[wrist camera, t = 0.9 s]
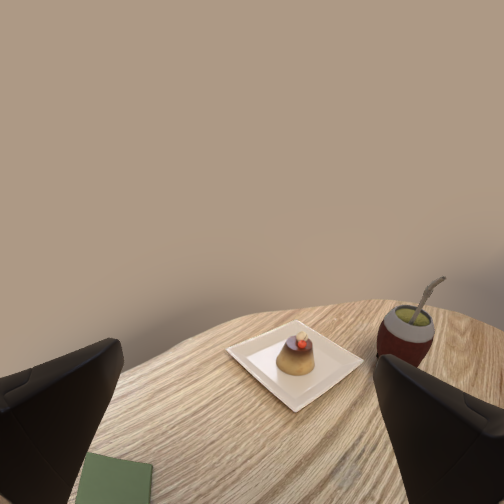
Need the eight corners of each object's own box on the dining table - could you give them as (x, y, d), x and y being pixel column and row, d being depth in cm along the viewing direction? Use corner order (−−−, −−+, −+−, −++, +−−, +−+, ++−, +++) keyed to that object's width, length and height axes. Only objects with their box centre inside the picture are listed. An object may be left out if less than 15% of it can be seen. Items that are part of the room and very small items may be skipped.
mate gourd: (392, 346, 33) (424, 244, 28) (429, 378, 26) (475, 268, 21) (353, 361, 30) (385, 247, 25) (391, 401, 23) (444, 277, 18)
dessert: (293, 419, 22) (302, 387, 21) (224, 355, 31) (224, 323, 30) (362, 367, 29) (373, 336, 28) (295, 325, 38) (299, 296, 37)
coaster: (149, 525, 10) (147, 524, 10) (77, 507, 9) (74, 505, 9) (153, 466, 16) (151, 463, 16) (89, 454, 15) (86, 451, 15)
